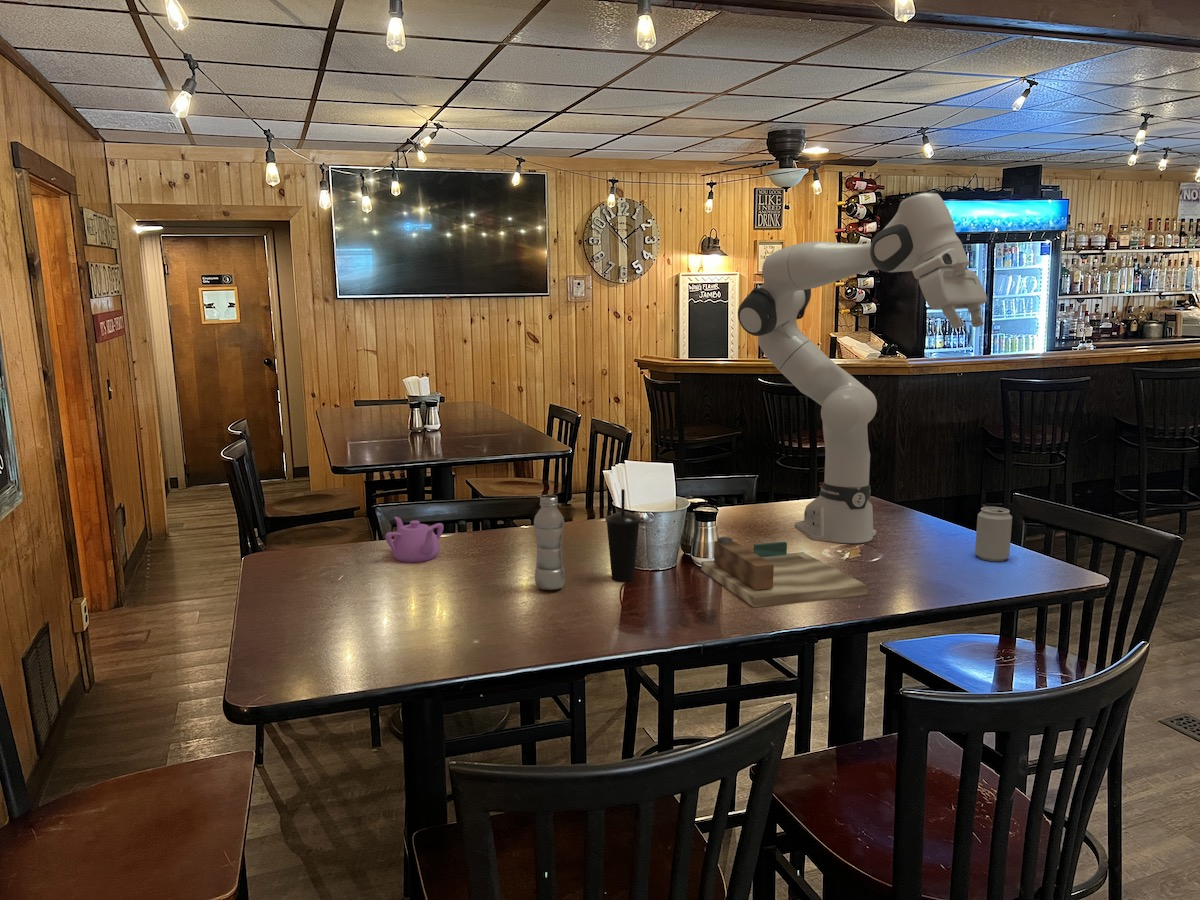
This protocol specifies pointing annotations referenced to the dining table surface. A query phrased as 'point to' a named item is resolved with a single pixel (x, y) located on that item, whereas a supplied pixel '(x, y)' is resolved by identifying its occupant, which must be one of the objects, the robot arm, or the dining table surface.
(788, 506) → the dining table surface
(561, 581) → the plastic bottle
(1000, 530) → the can
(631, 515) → the drinking cup
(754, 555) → the walnut leg
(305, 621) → the dining table surface
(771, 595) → the stool seat
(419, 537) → the teapot
